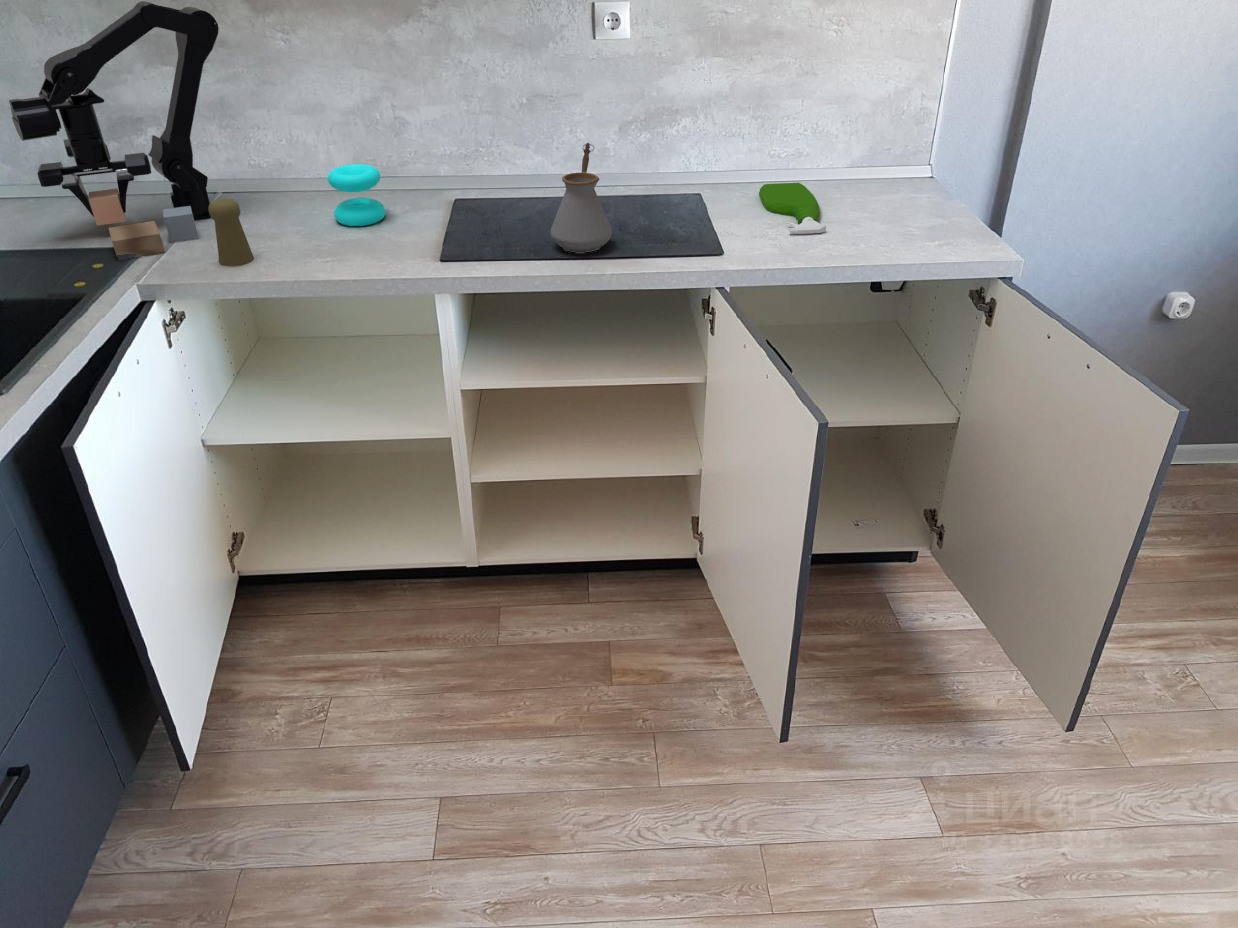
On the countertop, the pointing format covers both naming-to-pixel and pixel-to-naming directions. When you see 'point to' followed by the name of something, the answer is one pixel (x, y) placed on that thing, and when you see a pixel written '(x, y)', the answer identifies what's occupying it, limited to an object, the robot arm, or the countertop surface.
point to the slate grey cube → (180, 224)
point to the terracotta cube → (106, 206)
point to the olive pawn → (230, 233)
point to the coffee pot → (581, 213)
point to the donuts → (356, 181)
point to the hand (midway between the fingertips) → (109, 214)
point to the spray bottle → (793, 206)
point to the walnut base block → (137, 239)
